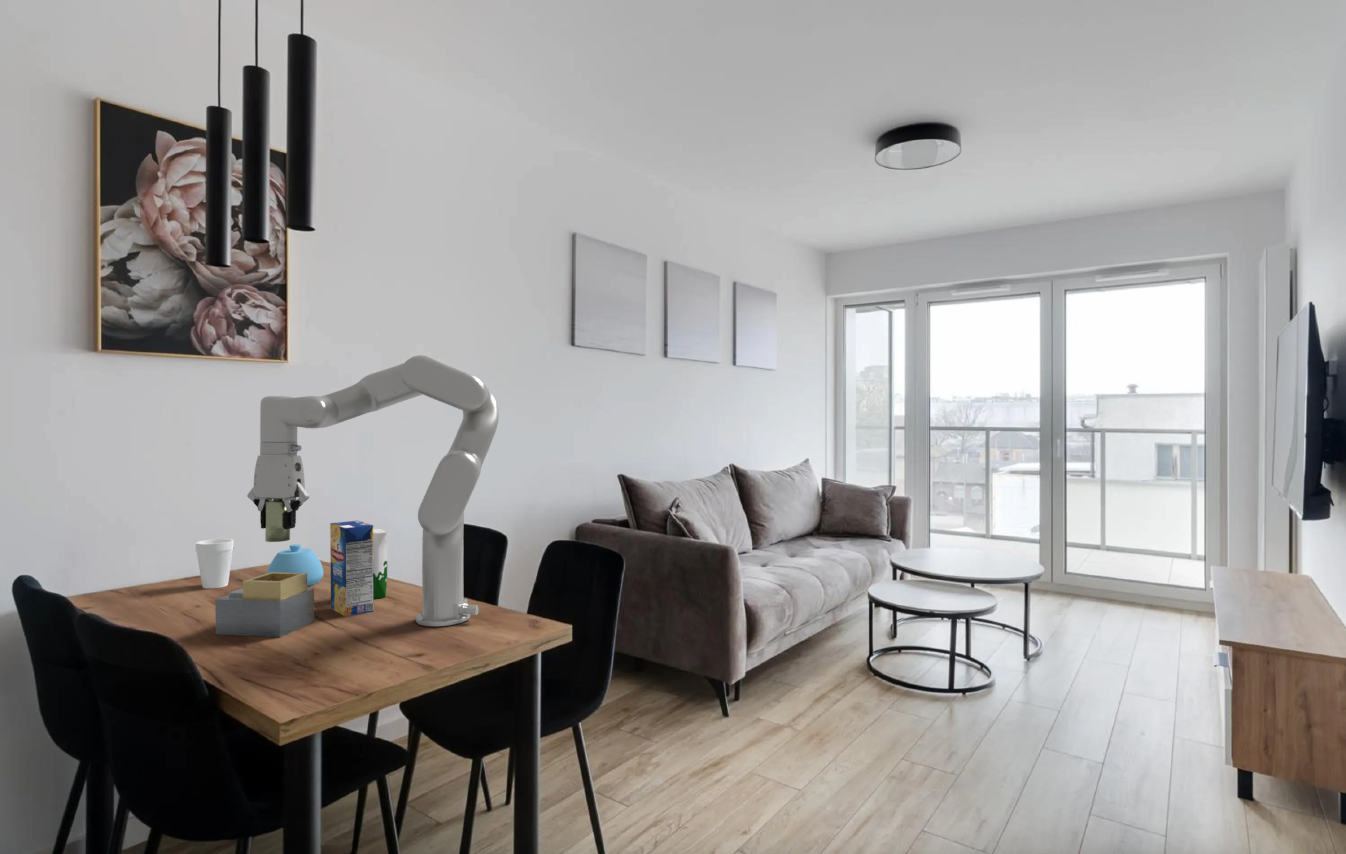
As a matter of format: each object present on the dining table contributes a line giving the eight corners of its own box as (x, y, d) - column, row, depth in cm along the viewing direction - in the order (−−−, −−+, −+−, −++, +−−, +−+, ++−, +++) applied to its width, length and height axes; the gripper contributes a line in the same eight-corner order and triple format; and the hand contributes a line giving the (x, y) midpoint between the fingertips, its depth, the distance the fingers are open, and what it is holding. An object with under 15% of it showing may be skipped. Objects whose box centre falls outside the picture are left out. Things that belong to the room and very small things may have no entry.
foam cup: (207, 582, 211) (206, 538, 211) (240, 581, 212) (239, 538, 212) (189, 590, 202) (188, 544, 201) (223, 589, 203) (223, 544, 202)
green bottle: (294, 538, 167) (295, 493, 167) (280, 542, 162) (281, 496, 162) (274, 537, 167) (275, 493, 167) (260, 541, 162) (260, 495, 162)
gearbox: (314, 621, 171) (313, 572, 171) (280, 637, 160) (279, 584, 159) (253, 619, 174) (253, 570, 173) (215, 634, 162) (215, 581, 161)
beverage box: (345, 616, 176) (345, 528, 175) (330, 608, 184) (330, 523, 183) (373, 611, 180) (373, 525, 180) (358, 603, 188) (357, 520, 188)
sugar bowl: (261, 591, 200) (261, 550, 200) (270, 580, 214) (270, 541, 214) (320, 587, 206) (320, 547, 206) (325, 576, 220) (325, 538, 220)
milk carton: (348, 595, 196) (348, 523, 196) (383, 590, 201) (382, 520, 201) (354, 602, 189) (354, 527, 189) (390, 597, 194) (390, 524, 194)
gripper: (323, 449, 167) (322, 526, 167) (255, 448, 169) (255, 524, 169) (303, 451, 160) (302, 531, 160) (232, 449, 162) (232, 529, 162)
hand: (278, 527), depth 165 cm, fingers closed on green bottle, 5 cm apart
